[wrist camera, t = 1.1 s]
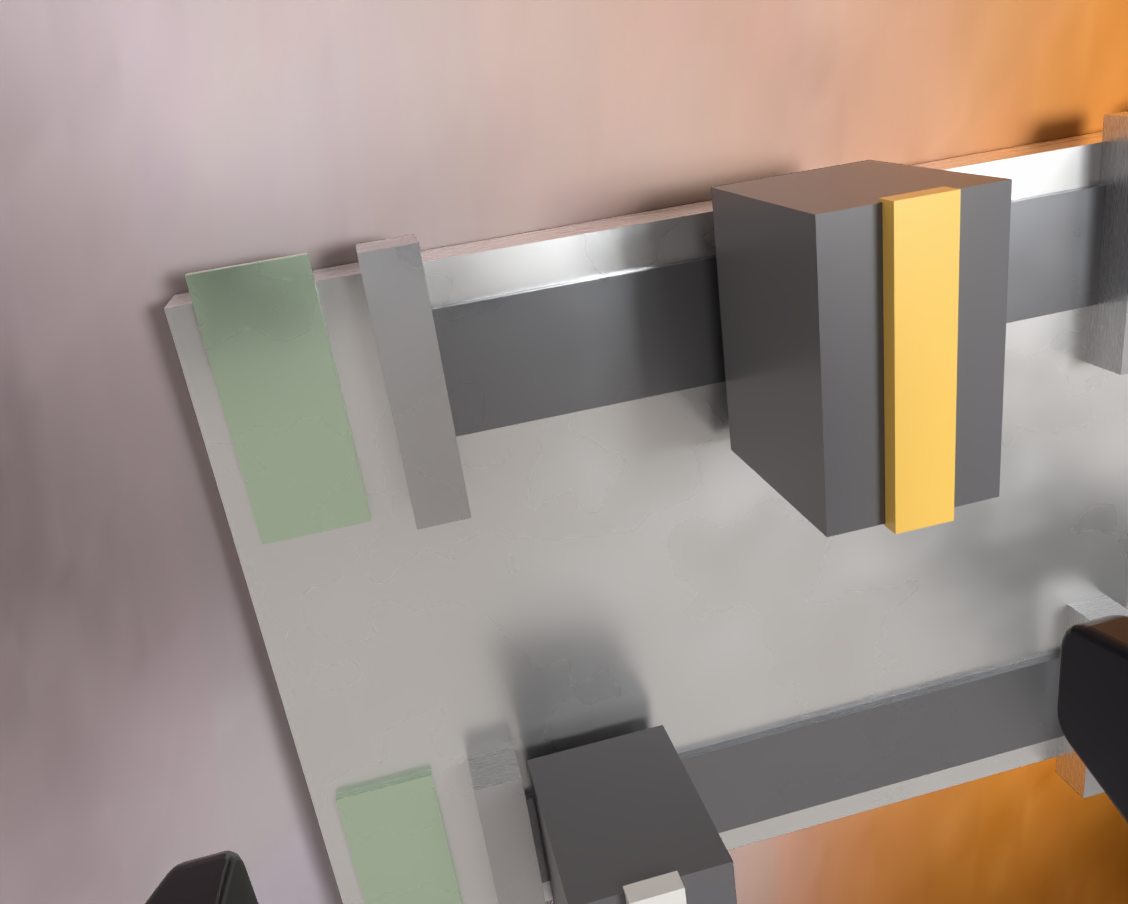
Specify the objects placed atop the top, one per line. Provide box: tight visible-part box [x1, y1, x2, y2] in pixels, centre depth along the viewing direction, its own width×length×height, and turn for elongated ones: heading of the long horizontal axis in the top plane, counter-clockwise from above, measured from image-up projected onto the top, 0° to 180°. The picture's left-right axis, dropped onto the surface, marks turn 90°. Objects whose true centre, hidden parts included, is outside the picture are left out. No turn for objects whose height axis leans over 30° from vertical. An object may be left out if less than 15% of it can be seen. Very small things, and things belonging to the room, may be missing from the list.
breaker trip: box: [711, 160, 1012, 537], centre depth 16 cm, size 3×5×4 cm, turn 8°
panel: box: [164, 111, 1128, 904], centre depth 21 cm, size 22×16×2 cm
